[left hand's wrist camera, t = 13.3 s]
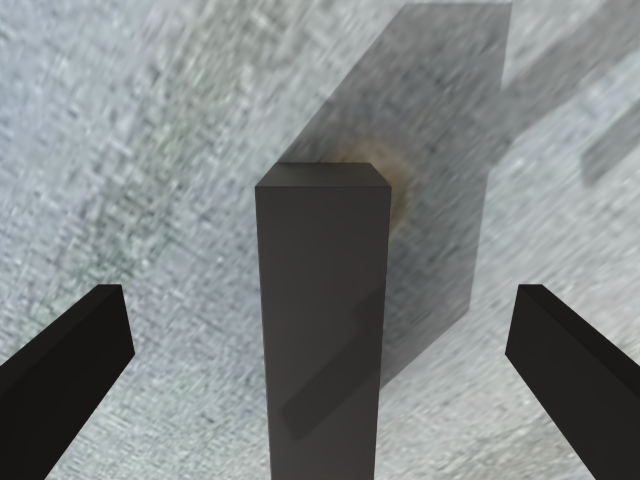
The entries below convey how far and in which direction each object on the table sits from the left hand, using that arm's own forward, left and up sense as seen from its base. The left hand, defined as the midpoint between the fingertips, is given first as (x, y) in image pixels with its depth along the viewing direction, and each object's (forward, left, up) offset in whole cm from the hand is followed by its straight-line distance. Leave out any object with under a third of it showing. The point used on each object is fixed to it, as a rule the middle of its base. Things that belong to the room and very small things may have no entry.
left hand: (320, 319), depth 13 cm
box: (+8, -1, -18) cm, 20 cm away
